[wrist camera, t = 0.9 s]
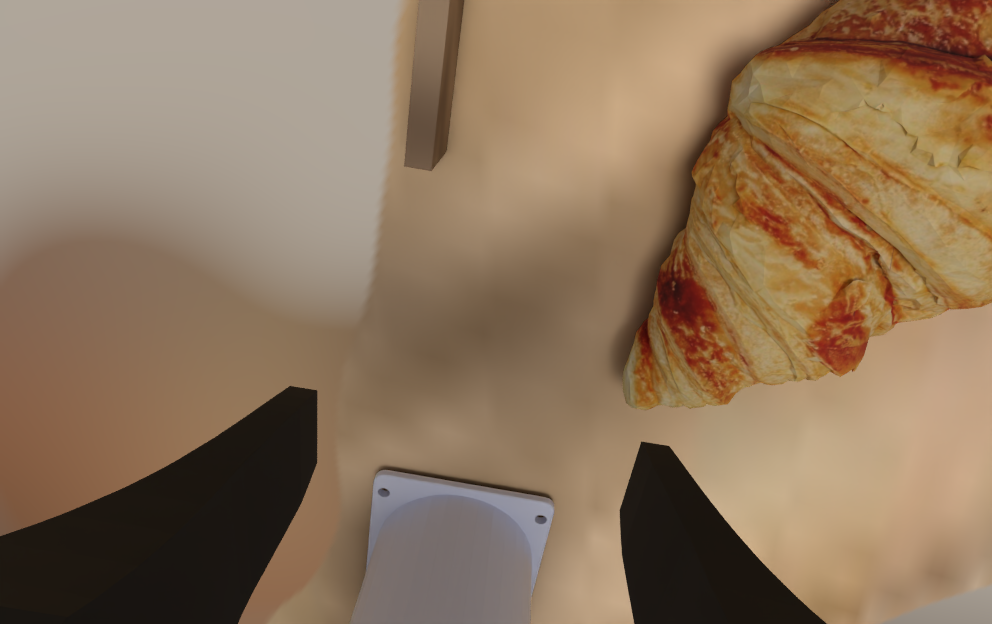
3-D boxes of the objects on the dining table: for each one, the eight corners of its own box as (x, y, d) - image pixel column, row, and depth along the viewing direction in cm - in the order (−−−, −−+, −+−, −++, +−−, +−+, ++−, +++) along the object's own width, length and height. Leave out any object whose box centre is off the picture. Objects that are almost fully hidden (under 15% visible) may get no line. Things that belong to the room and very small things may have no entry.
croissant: (667, 369, 27) (778, 525, 22) (499, 311, 21) (594, 506, 16) (1134, -91, 19) (1521, -25, 13) (1070, -406, 13) (1731, -531, 7)
